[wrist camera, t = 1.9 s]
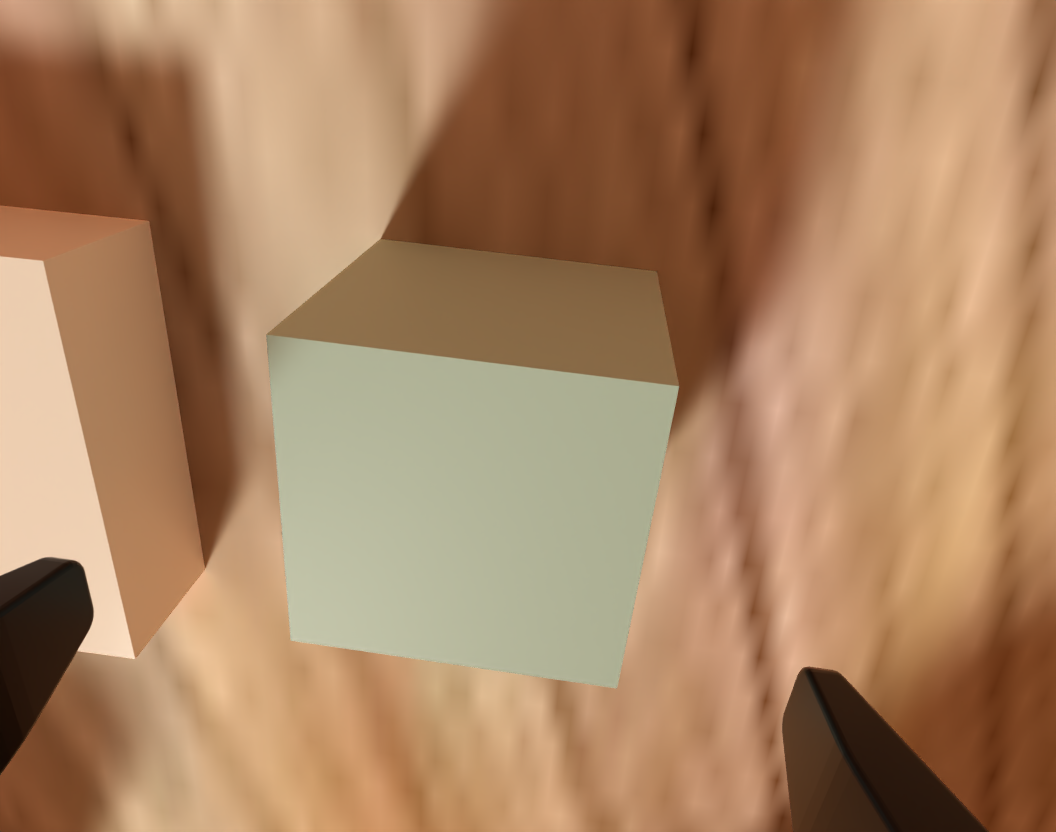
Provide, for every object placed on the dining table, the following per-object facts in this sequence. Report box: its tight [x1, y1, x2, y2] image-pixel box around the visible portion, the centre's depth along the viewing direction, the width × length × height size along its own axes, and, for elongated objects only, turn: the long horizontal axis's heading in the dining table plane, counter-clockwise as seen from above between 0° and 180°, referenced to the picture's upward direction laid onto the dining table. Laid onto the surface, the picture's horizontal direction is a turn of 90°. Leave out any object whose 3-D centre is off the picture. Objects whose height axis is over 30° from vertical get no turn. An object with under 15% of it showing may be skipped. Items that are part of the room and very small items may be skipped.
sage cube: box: [266, 239, 679, 688], centre depth 13 cm, size 6×6×6 cm
